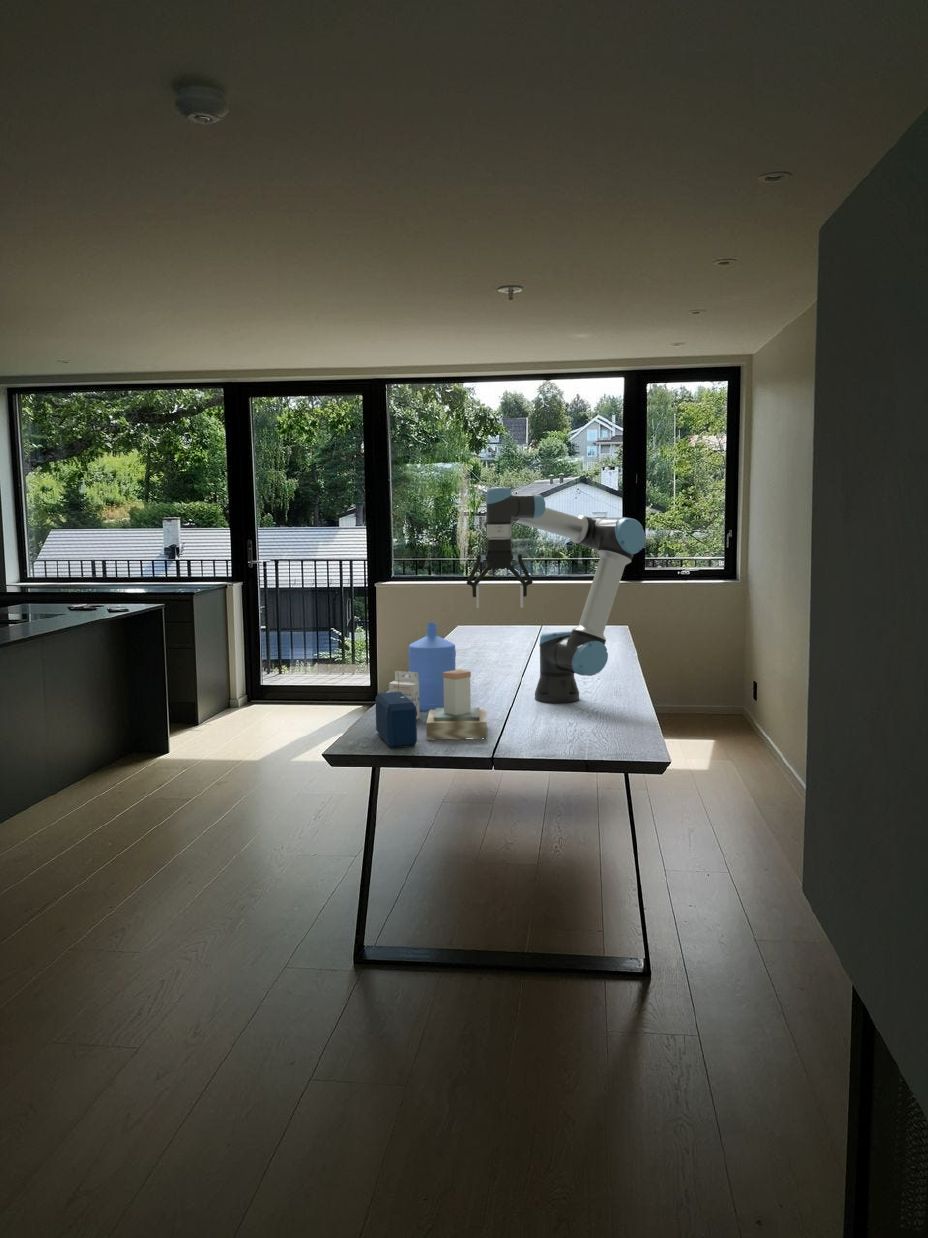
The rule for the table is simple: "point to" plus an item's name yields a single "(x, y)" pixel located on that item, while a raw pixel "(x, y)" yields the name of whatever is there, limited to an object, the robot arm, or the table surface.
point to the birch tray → (456, 725)
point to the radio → (396, 719)
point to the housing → (457, 692)
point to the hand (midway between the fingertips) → (499, 607)
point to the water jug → (431, 667)
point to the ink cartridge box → (407, 687)
